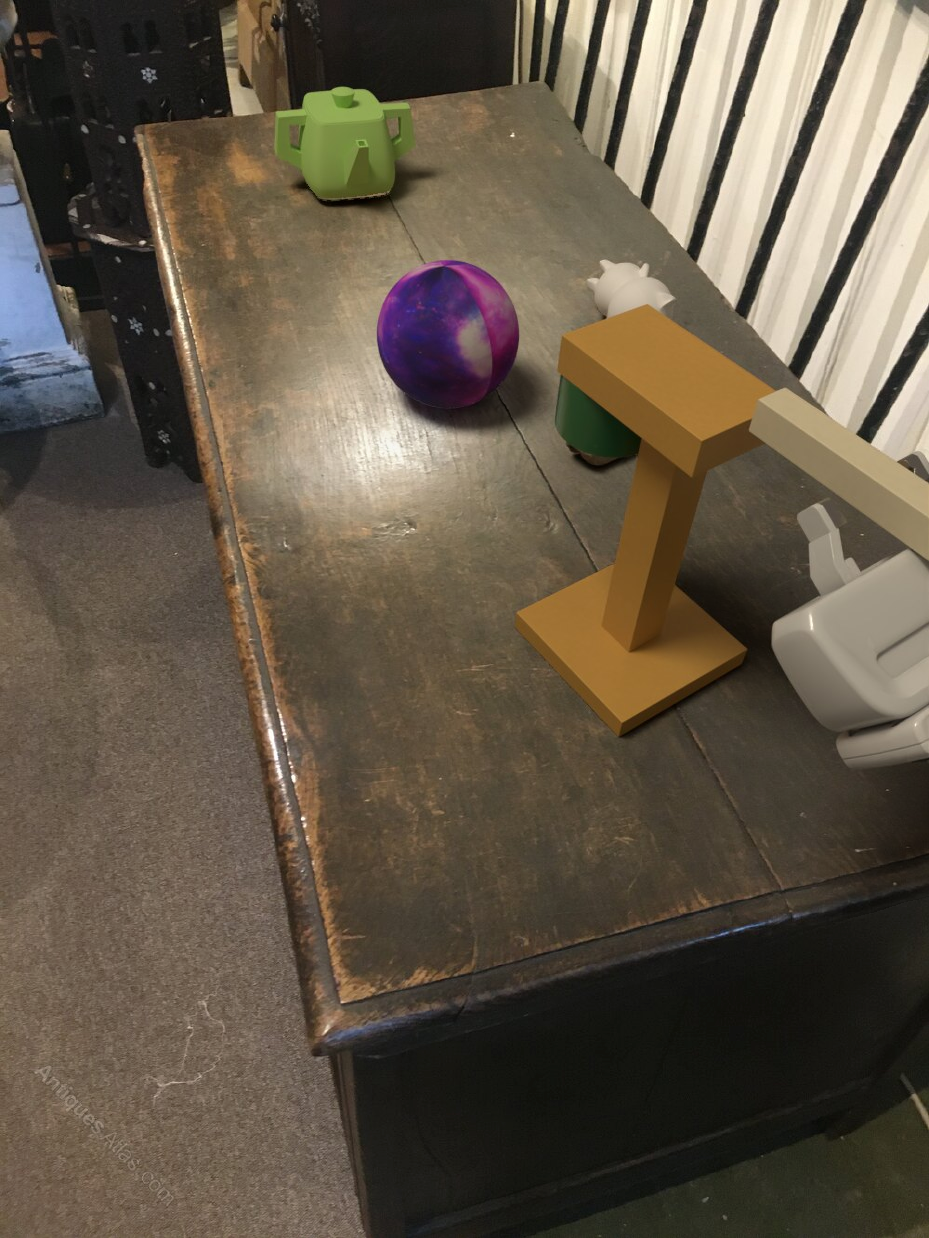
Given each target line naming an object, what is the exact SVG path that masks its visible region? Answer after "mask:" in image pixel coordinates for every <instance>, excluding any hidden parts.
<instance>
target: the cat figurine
mask: <svg viewBox="0 0 929 1238" xmlns="http://www.w3.org/2000/svg"><path fill="white" fill-rule="evenodd" d="M599 267H600V269H601V270H602V272H603V273H602V275H601V276H600V277H599V278H597V277H590V278H587V279H586V285H587V287H588V288H589V289H590V290H591V291H592V292H593V293H594V297H593V298H594V303H595V306H596V308H597V310H598V311H599V312H600V313H601V314H602V315H603V316H605V317H606V318H605V319H607V318H610V317H612V316H615V315H618V314H621V313H623V312H626V311H629V310H632V309H635V308H637V307H640V306H643V305H646V304H648V305H650V306H651V307H653V308H654V309H656V310H657V311H659V312H660V313H662V314H663V315H664V316H666V317H667V318H669V319H670V320H672V321H673V318H674V310H675V309H674V308H675V307H674V306H675V303H676V301H677V298H676V297H675V296H674V295H672V294H671V291H670V290H669V288H668V287H667V286H666V284H665V283H663V282H662V281H661V280H660V279H657V278H654V277H651V276H649V272H650V264H649V263H647V262H645V263H643V264H642V266H641V267H640V266H639V265H637V264H635V263H633V262H619V263H615V262H612V261H610V260H608V259H601V260H600V261H599Z"/></svg>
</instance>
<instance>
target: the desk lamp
mask: <svg viewBox="0 0 929 1238" xmlns="http://www.w3.org/2000/svg"><path fill="white" fill-rule="evenodd" d="M606 318H607V317H606ZM606 318H604V319H602V320H599V321H596V322H593V323H591V324H587V325H584V326H583V327H580V328H576V329H574V330H571V331H569V332H566V333H563V334H561V338H560V345H559V346H560V348H559V354H558V361H557V370H556V372H558V374H560V376H559V382H558V383H559V384H558V391H557V392H558V393H557V399H556V407H555V415H554V426H555V428H556V431H557V433H558V435H559V436H560V437H561V438H562V439H563V440H564V441H565V443H566V442H567V443H569V444H570V445H571V446H573V447H575V448H576V449H578V450H580V451H583V452H585V453H588V454H591V455H595V456H600V457H608V458H617V459H619V458H621V459H622V458H629V457H633V456H637V458H636V463H635V468H634V472H633V477H632V481H631V486H630V491H629V495H628V500H627V504H626V510H625V514H624V517H623V518H624V519H623V523H622V528H621V532H620V537H619V541H618V546H617V552H616V555H615V561H614V563H612V564H610V565H609V566H606V567H605V568H602V569H600V570H598V571H596V572H593V574H591V575H588V576H586V577H584V578H582V579H581V580H578V581H577V582H574V583H572V584H570V585H569V586H566V587H564V588H562V589H561V590H559V591H556V592H553V593H552V594H550V595H548V596H546V597H544V598H543V599H540V600H537V601H536V602H534V603H532V604H530V605H528V606H526V607H524V608H521V609H520V610H518V611H516V612H515V622H514V628H515V629H516V631H518V633H520V635H522V637H523V638H524V639H525V640H526V641H527V642H528V643H529V644H530V645H531V646H532V647H533V648H534V650H536V651H537V652H538V653H539V655H540V656H541V657H542V658H543V659H544V660H545V661H546V662H547V663H548V664H549V665H550V666H551V667H552V669H554V671H555V672H557V674H558V675H559V676H560V677H561V678H562V679H563V681H564V682H566V683H567V684H568V686H570V687H571V689H572V690H573V691H574V692H575V693H577V695H578V696H579V697H580V698H581V699H582V700H583V701H584V703H586V704H587V705H588V706H589V708H591V711H593V712H594V713H595V714H596V715H597V716H598V717H599V718H600V720H602V721H603V723H604V724H605V725H606V726H608V728H609V729H610V730H611V731H612V732H613V733H614V734H615V736H617V738H620V737H621V736H623V735H624V734H627V733H628V732H630V731H631V730H633V729H635V728H636V727H638V726H640V725H642V724H643V723H645V722H646V721H648V720H650V719H651V718H653V717H655V716H656V715H658V714H660V713H662V712H663V711H665V710H667V709H669V708H670V707H672V706H674V705H675V704H677V703H679V702H680V701H682V700H683V699H685V698H687V697H688V696H690V695H692V694H695V692H697V691H699V690H700V689H702V688H704V687H705V686H707V685H709V684H711V683H712V682H713V681H716V680H717V679H719V678H720V677H723V676H724V675H726V674H727V673H729V672H731V671H732V670H734V669H736V668H737V667H740V665H742V664H743V662H744V659H745V657H746V654H747V651H748V648H747V647H746V646H744V645H743V644H742V643H741V642H740V641H739V640H738V639H737V638H736V637H734V636H733V635H732V634H731V633H730V632H729V631H727V629H725V628H724V627H723V626H722V625H721V624H720V623H719V622H717V621H716V619H714V618H713V617H712V616H711V615H710V614H709V613H708V612H706V611H705V610H704V609H703V608H702V607H701V606H699V604H697V603H696V602H695V601H694V600H693V599H691V598H690V597H689V596H688V595H687V594H686V593H685V592H683V590H682V589H680V588H679V587H678V586H677V585H676V582H677V578H678V574H679V571H680V568H681V564H682V561H683V558H684V553H685V550H686V548H687V543H688V539H689V536H690V532H691V529H692V526H693V522H694V518H695V516H696V512H697V508H698V505H699V502H700V499H701V495H702V491H703V488H704V484H705V481H706V478H707V475H708V474H707V473H708V471H710V470H712V469H714V468H716V467H719V466H722V464H725V463H727V462H729V461H731V460H733V459H735V458H738V457H740V456H742V455H744V454H747V453H748V452H751V451H753V450H755V449H757V448H759V447H761V446H763V445H766V443H764V442H763V441H762V440H760V439H759V438H758V437H756V436H755V435H753V434H752V433H751V432H749V428H750V425H751V421H752V418H753V415H754V412H755V409H756V405H757V402H758V400H759V399H760V398H762V397H765V396H767V395H769V394H771V393H774V392H776V391H777V390H776V389H774V388H773V387H772V386H769V385H768V384H767V383H765V382H763V381H762V380H761V379H759V378H758V377H757V376H755V375H753V374H752V373H750V372H749V371H748V370H746V369H744V368H743V367H741V365H738V364H737V363H735V362H734V361H732V360H731V359H730V358H728V357H727V356H725V355H724V354H722V353H721V352H719V351H718V350H716V349H715V348H714V347H712V346H710V345H708V343H706V342H704V341H703V340H701V339H700V338H699V337H697V336H696V335H694V334H692V333H691V332H690V331H688V330H687V329H685V328H684V327H682V326H681V325H680V324H678V323H677V322H675V321H673V319H672V320H670V319H669V318H667V317H666V316H664V315H663V314H662V313H660V312H659V311H657V310H656V309H654V308H653V307H651V306H650V305H648V304H646V305H643V306H640V307H637V308H635V309H632V310H629V311H626V312H623V313H621V314H618V315H615V316H612V317H610V318H607V319H606Z"/></svg>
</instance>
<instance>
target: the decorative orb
mask: <svg viewBox="0 0 929 1238" xmlns="http://www.w3.org/2000/svg"><path fill="white" fill-rule="evenodd" d="M378 314H379V315H378V318H377V323H376V324H377V325H376V344H377V350H378V354H379V358H380V360H381V361H380V362H381V363H382V365H383V368H384V370H385V371H386V373H387V375H388V376H389V378H390V379H391V381H392V382H393V383H394V384H395V385H396V387H397V388H398V389H399V390H400V391H402V392H403V393H404V394H405V395H406V396H408V397H409V398H411V399H412V400H414V401H415V402H418V403H420V404H423V405H425V406H428V407H433V408H437V409H447V410H448V409H449V410H450V409H460V408H464V407H469V406H471V405H474V404H476V403H478V402H481V401H482V400H485V399H486V398H487V397H489V396H490V395H492V394H493V393H494V392H495V391H496V390H497V389H498V388H499V387H500V386H501V385H502V384H503V382H505V380H506V378H507V377H508V375H510V372H511V370H512V368H513V367H514V364H515V361H516V358H517V354H518V351H519V346H520V345H519V344H520V325H519V319H518V315H517V311H516V308H515V305H514V303H513V301H512V299H511V297H510V295H509V293H508V292H507V291H506V289H505V287H503V286H502V284H501V283H500V282H499V281H498V280H497V279H496V278H495V277H493V276H492V274H490V273H489V272H488V271H486V270H484V269H483V268H481V267H479V266H477V265H474V264H472V263H468V262H465V261H462V260H455V259H442V260H440V259H439V260H435V261H430V262H426V263H424V264H421V265H418V266H417V267H415V268H413V269H411V270H410V271H408V272H407V273H405V274H404V275H403V276H402V277H401V278H400V279H398V281H397V282H395V284H394V285H393V286H392V288H391V289H390V290H389V292H388V293H387V295H386V297H385V298H384V300H383V302H382V305H381V307H380V311H379V313H378Z"/></svg>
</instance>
